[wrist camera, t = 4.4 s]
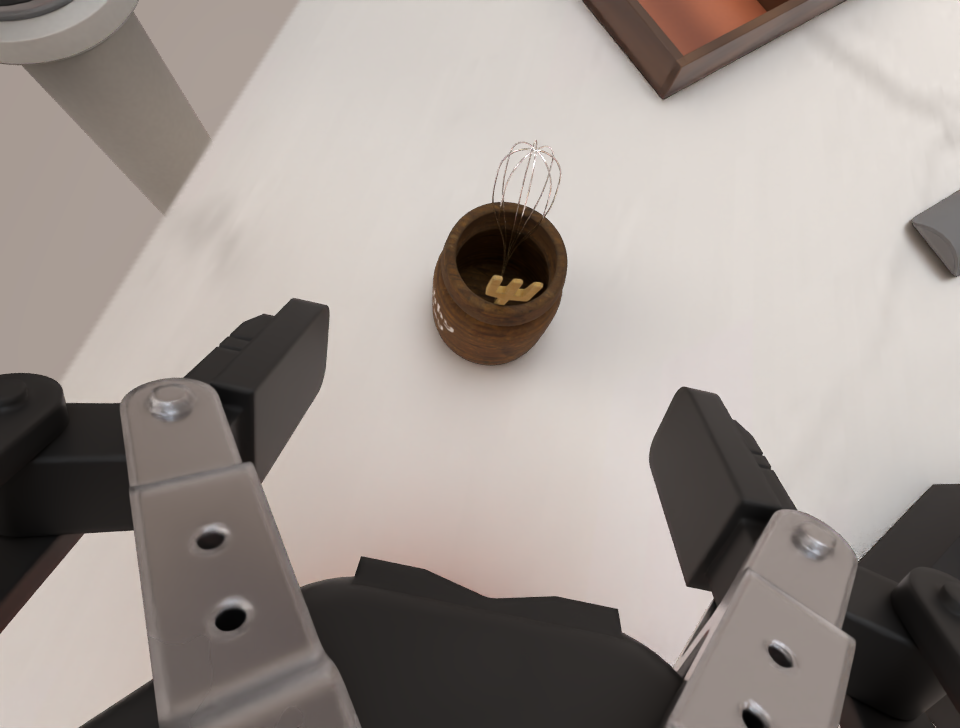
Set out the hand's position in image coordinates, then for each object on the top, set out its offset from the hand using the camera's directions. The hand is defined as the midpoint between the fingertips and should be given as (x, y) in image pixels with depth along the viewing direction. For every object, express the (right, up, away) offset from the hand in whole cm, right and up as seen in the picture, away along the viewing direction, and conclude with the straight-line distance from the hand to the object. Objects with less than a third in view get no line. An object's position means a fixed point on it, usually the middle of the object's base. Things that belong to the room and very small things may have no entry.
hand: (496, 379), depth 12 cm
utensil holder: (0, +3, +16) cm, 16 cm away
